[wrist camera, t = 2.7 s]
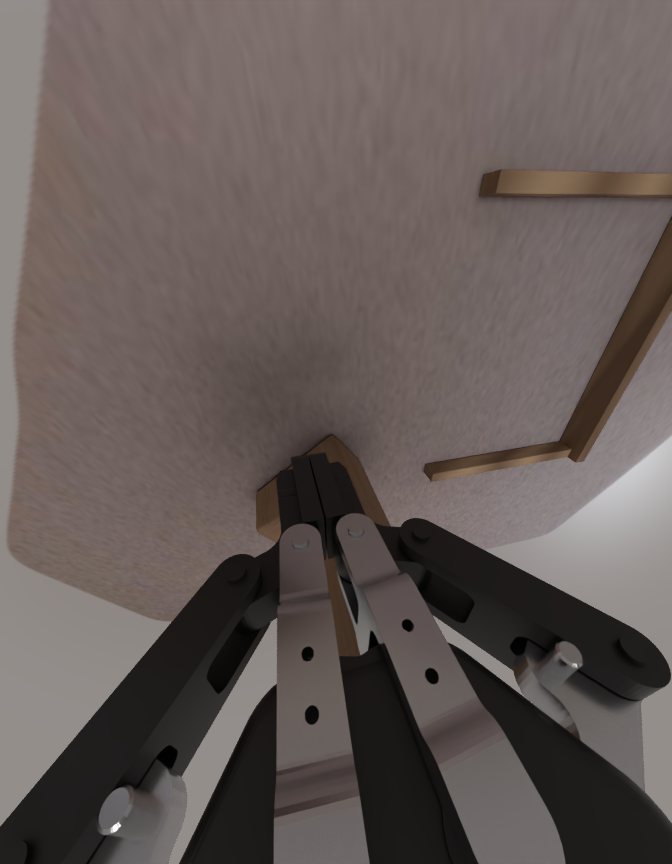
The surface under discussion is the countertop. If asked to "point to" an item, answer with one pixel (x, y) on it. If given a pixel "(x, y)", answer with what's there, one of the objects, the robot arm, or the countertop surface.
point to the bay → (640, 324)
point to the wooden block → (271, 529)
